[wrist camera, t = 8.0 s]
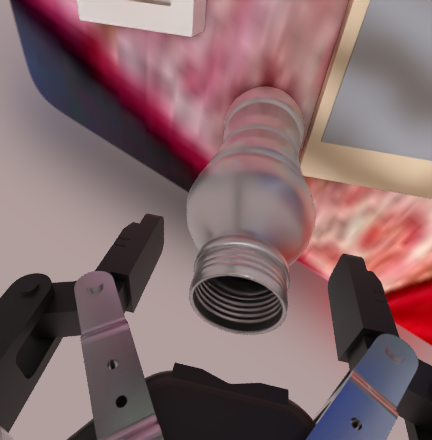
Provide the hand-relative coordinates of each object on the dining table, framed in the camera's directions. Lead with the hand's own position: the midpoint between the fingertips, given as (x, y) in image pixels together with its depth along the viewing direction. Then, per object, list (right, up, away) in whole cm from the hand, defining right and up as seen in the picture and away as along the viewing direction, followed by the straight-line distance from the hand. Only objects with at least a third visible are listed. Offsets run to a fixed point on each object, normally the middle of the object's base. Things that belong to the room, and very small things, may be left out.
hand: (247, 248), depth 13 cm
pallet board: (+13, +12, +9) cm, 20 cm away
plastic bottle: (+3, +10, +13) cm, 17 cm away
